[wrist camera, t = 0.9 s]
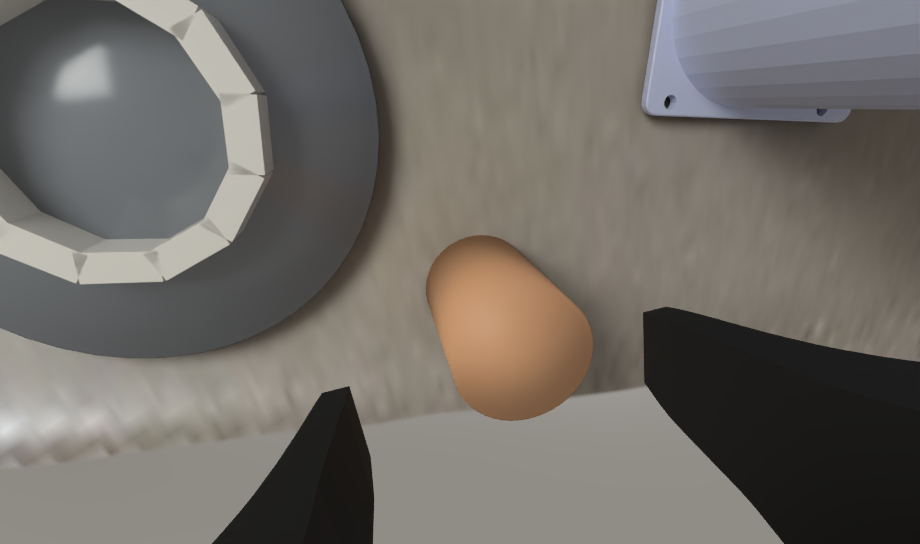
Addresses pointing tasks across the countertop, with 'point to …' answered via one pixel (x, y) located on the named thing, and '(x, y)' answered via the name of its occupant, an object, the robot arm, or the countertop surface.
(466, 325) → the tan rounded block
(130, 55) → the tray
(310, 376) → the countertop surface
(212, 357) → the countertop surface
